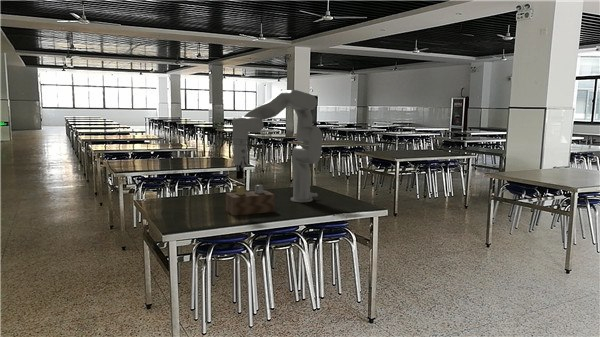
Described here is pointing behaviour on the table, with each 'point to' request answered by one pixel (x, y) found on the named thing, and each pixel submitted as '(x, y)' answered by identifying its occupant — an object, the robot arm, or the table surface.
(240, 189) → the brass peg
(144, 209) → the table surface
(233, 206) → the walnut block
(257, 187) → the steel peg
